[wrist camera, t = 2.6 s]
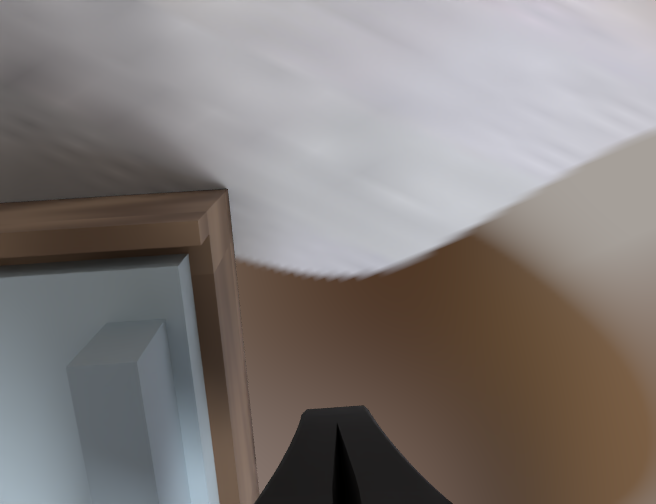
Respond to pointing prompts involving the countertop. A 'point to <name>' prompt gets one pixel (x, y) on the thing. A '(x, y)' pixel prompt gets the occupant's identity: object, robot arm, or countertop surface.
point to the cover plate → (103, 384)
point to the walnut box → (207, 282)
